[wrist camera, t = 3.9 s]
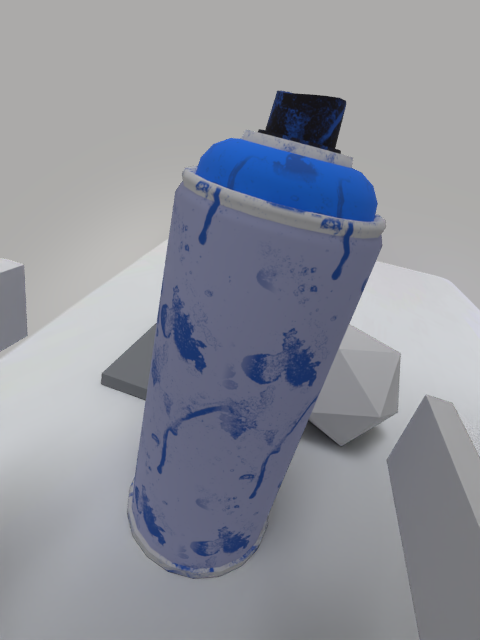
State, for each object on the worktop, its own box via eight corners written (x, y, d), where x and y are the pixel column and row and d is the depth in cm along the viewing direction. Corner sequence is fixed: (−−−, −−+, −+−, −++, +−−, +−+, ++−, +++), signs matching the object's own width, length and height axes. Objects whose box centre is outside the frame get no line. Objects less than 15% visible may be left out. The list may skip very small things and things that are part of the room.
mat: (277, 356, 36) (280, 347, 35) (254, 439, 25) (258, 429, 25) (167, 319, 37) (169, 311, 37) (101, 383, 27) (101, 373, 26)
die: (394, 442, 29) (391, 326, 31) (409, 466, 21) (405, 308, 23) (295, 433, 32) (297, 326, 33) (275, 451, 24) (279, 310, 25)
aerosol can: (294, 527, 20) (485, 139, 11) (169, 617, 15) (330, 50, 6) (217, 431, 25) (305, 110, 16) (105, 475, 20) (141, 49, 11)
